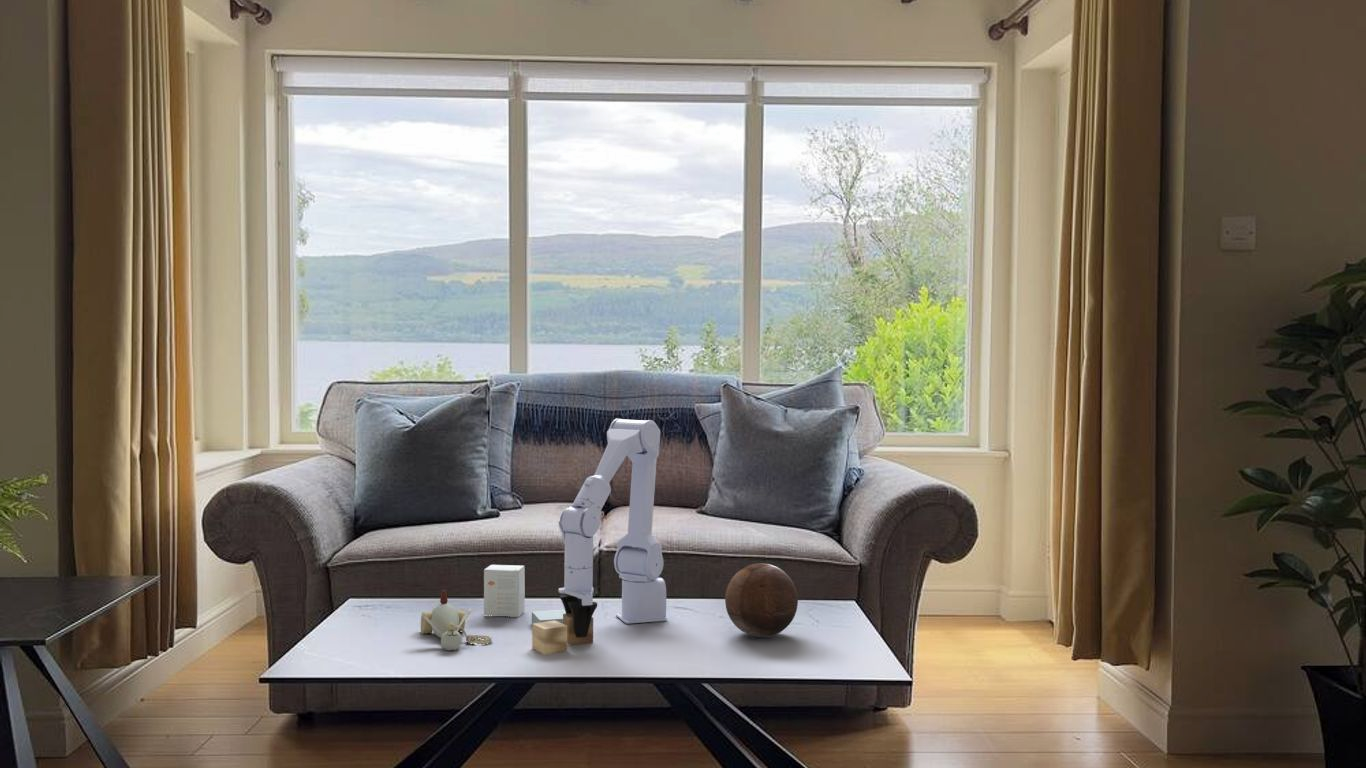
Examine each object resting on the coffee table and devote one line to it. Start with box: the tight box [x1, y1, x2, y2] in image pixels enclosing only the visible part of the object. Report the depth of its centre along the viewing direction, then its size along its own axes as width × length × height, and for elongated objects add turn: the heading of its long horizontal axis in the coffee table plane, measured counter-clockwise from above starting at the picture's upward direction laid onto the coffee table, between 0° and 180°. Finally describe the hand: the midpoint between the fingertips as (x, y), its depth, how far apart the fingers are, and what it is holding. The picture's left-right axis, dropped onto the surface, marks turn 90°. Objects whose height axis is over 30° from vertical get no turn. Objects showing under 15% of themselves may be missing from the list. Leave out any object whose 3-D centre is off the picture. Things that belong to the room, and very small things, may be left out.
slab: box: [531, 608, 566, 625], centre depth 224 cm, size 8×8×3 cm
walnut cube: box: [563, 613, 594, 645], centre depth 214 cm, size 5×5×5 cm
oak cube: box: [531, 620, 568, 656], centre depth 207 cm, size 5×5×5 cm
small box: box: [483, 564, 526, 618], centre depth 235 cm, size 8×6×10 cm
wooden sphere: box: [724, 562, 799, 638], centre depth 219 cm, size 15×15×15 cm
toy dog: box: [420, 589, 493, 651], centre depth 214 cm, size 12×19×9 cm, turn 41°
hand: (577, 633), depth 214 cm, fingers closed on walnut cube, 5 cm apart
